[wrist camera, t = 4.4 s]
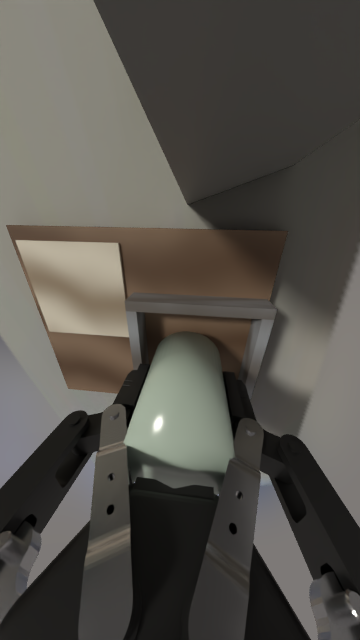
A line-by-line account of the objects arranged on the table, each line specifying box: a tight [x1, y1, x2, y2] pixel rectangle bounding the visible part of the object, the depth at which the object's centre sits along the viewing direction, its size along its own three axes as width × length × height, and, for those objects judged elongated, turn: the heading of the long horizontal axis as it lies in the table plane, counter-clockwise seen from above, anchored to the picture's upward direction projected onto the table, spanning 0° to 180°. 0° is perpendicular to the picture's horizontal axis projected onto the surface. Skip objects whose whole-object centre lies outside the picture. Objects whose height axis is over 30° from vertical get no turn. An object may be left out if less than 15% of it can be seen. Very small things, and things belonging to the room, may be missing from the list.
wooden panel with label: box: [6, 225, 288, 400], centre depth 16 cm, size 17×20×3 cm
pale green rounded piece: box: [123, 331, 235, 495], centre depth 12 cm, size 6×8×8 cm
